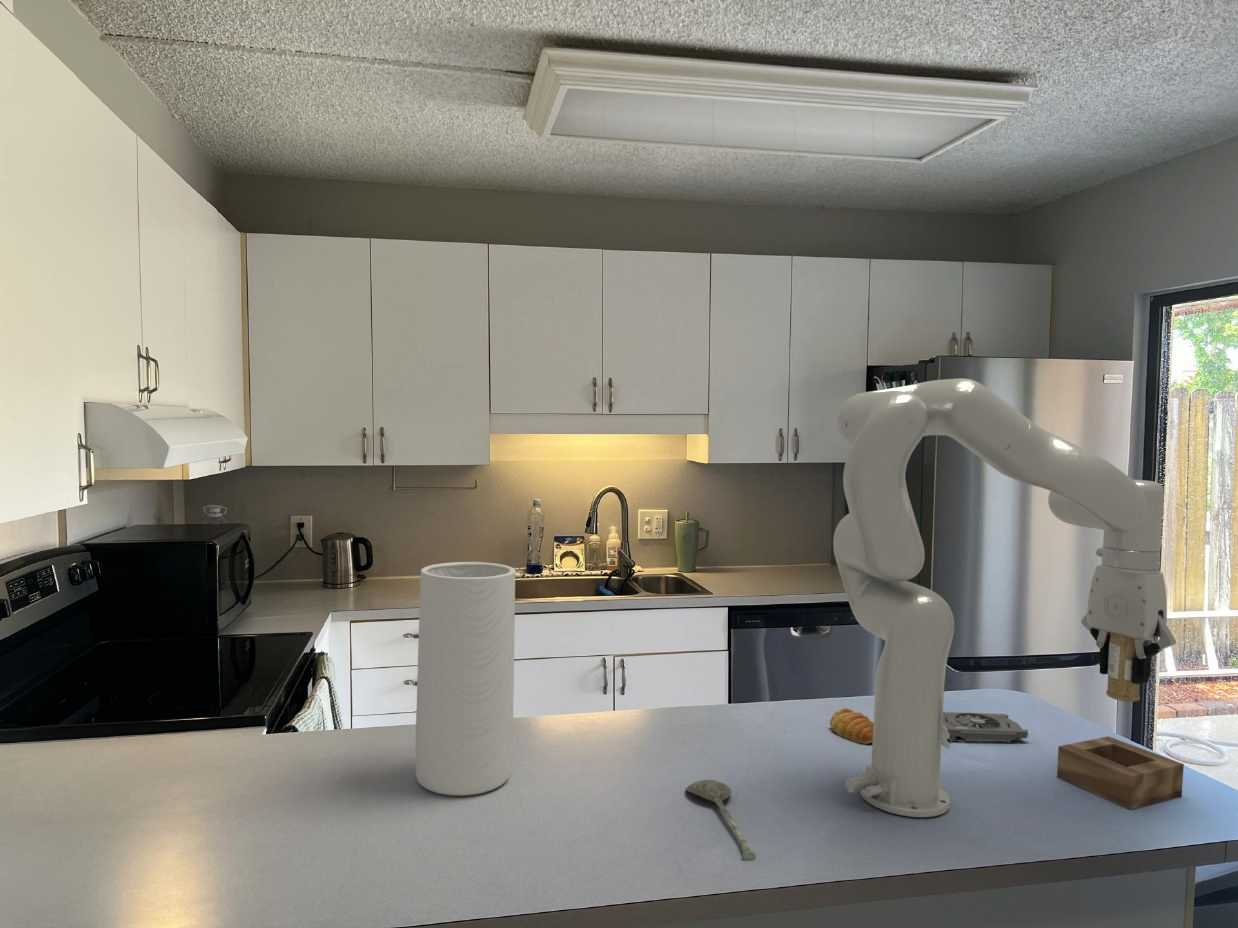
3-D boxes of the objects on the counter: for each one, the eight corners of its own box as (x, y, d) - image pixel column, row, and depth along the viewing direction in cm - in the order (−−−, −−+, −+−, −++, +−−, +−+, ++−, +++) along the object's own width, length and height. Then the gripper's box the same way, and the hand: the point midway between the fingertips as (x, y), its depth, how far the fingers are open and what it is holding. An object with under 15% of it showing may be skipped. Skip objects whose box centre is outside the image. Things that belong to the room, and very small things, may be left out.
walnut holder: (1130, 809, 122) (1132, 775, 122) (1056, 777, 133) (1058, 746, 133) (1181, 796, 127) (1183, 763, 127) (1106, 766, 138) (1108, 736, 138)
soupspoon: (723, 790, 127) (681, 794, 126) (723, 768, 127) (680, 772, 126) (773, 861, 105) (722, 866, 104) (772, 834, 105) (722, 839, 104)
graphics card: (943, 731, 143) (916, 705, 155) (942, 752, 144) (915, 725, 156) (1040, 734, 144) (1005, 708, 156) (1038, 755, 144) (1004, 728, 156)
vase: (505, 800, 119) (510, 579, 117) (404, 797, 119) (408, 576, 117) (517, 759, 133) (522, 562, 132) (426, 757, 133) (430, 560, 131)
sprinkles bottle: (1140, 704, 126) (1145, 616, 126) (1105, 699, 129) (1110, 612, 128) (1139, 696, 130) (1144, 610, 130) (1105, 691, 133) (1110, 607, 132)
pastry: (889, 744, 145) (890, 722, 145) (858, 749, 143) (859, 727, 143) (855, 725, 154) (856, 705, 154) (824, 729, 152) (825, 708, 151)
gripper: (1064, 552, 134) (1057, 665, 135) (1171, 570, 119) (1163, 697, 120) (1095, 551, 138) (1088, 660, 139) (1203, 568, 122) (1195, 691, 123)
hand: (1123, 676), depth 129 cm, fingers closed on sprinkles bottle, 4 cm apart
